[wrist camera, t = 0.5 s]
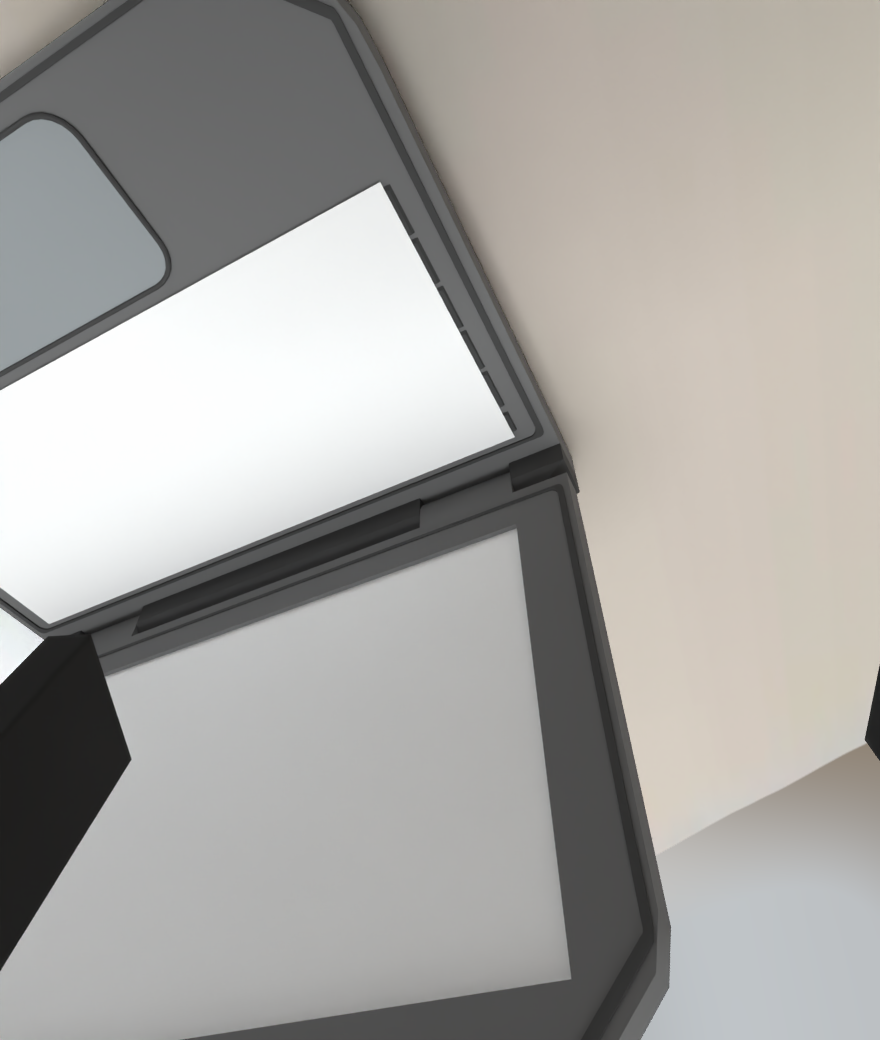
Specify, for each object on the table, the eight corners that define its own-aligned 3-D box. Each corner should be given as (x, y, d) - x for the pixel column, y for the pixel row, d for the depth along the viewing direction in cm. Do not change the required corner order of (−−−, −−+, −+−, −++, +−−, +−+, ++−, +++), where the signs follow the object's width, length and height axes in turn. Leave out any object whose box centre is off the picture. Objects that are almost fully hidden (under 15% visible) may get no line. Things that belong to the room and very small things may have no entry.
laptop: (297, -129, 26) (-965, -173, 3) (581, 472, 44) (741, 1138, 21) (-317, 317, 38) (-1579, 1054, 14) (110, 648, 56) (-127, 1207, 32)
